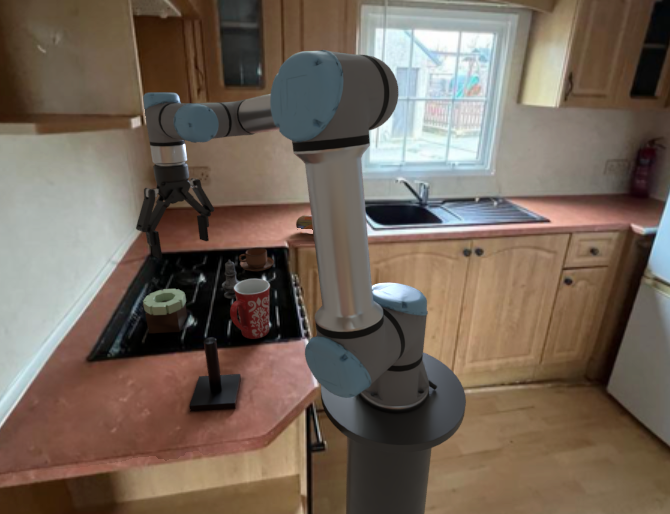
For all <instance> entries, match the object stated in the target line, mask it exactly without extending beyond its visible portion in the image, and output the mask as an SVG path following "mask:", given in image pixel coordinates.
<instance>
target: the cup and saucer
mask: <svg viewBox="0 0 670 514" xmlns="http://www.w3.org/2000/svg"><path fill="white" fill-rule="evenodd" d="M242 257H245V258H243V259H242ZM238 259H239V261H240V263H239V265H240V268H242V269H243V270H245V271H247V272H262V271H266V270H268V269H270V268H272V267H273V266H274V264H275V260H274V259H273V258H272V257H270V256H268V250H267V249H266V248H264V247H251V248H249V249H247V250H246V251H245V253H242V254H240V255H239V256H238Z"/></svg>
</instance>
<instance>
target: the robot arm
mask: <svg viewBox="0 0 670 514" xmlns="http://www.w3.org/2000/svg"><path fill="white" fill-rule="evenodd" d="M142 99H143V108H144V109H145V113H144V117H145V116H146V118H145V122H146V123H145V124H146V129H147V130H146V131H147V135H148V141H149V147H150V155H151V159H152V163H153V164H154V165H153V166H152V169H153V174H154V180H155V182H156V187H155V188H150V187H145V188H144V189H143V201H142V205H141V207H140V211H139V215H138V219H137V222H136V225H135V230H137V231H139V232H141V233H145V237H146V242H147V245H149V246H150V247H151V254H152V257H155V258H157V259H162V258H163V252H162V246H161V241H160V234H159V231H158V230H156V229H157V227H158V226H159V223H160V222H161V220H162V218H163V216H164V214H165V212H166V210H167V208H169V207H170V205H171V204H172V205H174V204H176V203H178V202H180V203H181V202H184V201H185V202H186V203H187V204H188V205H189V206H191V208H193V209H194V210H195V212H197V213H198V214H199V215H196V219H197V220H196V221H197V228H198V236H199V237H198V238H199V240H201V241H204V242H209V239H210V237H209V231H208V228H209V227H210V220H209V217H211V216H212V213H213V212H215V208H214V205H213V204H212V202H211V201H210V199H209V198H208V195H207V194H206V192H205V190H204V188H203V186H202V183H201V180H200V178H199V179H198V178H193V177H191V178H190V172H189V165H188V163H187V161H188V155H187V149H186V142H190V143H195V144H197V143H208V142H210V141H211V140H213V139H214V140H215V139H222V138H229V137H230V138H231V137H241V136H253V135H256V134H261V133H269V132H277V131H278V132H279V133H280V134H281V135H282V136H283V137H285V138H286V139H287V140H290V141H291V144H292V151H293V155H295V156H296V157H297V158H298V159H299V160H301V161H302V162H303V164H304V169H305V176H306V183H307V191H308V200H309V208H310V215H311V217H312V225H313V234H314V235H313V240H314V241H313V242H314V249H315V258H316V265H317V273H318V281H319V288H320V289H319V290H320V299H321V306H320V307H319V308H318V310H316V311H315V313H314V323H315V330H316V335H315V336H313V337H311V338H310V339H309V341H308V343H307V344H306V345H305V348H304V357H305V358H304V359H305V362H306V364H307V367H308V369H309V371H310V372H311V374H312V376H313V377H314V378H315V380H316V381H317V382H318V383H319V384H320V386H321V385H322V386H323V387H324V388H325V389H327V390H328V391H329V392H331V393H333V394H335V395H337V396H340V397H344V398H351V397H354V396H356V395H359V397H360V398H361V399H362V400H363V401H364V402H365V403H366V404H367V405H369V406H370V407H372V408H374V409H376V410H379V411H382V412H386V413H396V414H398V413H407V412H411V411H414V410H416V409H418V408H419V407H421V406H422V405H423V404H424V403H425V402H426V400H427V398H428V394H429V386H430V387H431V388H433V389H434V390H435V389H436V388H437V385H435V384H434V383H432V382H431V381H430V380H428V377H427V373H426V370H425V366H424V363H423V352H424V349H425V338H426V328H427V318H428V314H429V313H428V300H427V299H428V298H427V297H426V296H425V294H424V293H423V292H421V290H419V289H418V288H415V287H414V286H411V285H407V284H404V283H398V282H379V283H375V284H373V283H372V281H373V280H372V271H371V259H370V258H371V257H370V249H369V247H370V245H369V236H368V234H369V233H368V226H367V225H368V224H367V222H368V221H367V213H366V199H365V187H364V178H363V177H364V175H363V164H362V157H363V155H364V154H365V152H366V151H367V150H368V149H369V147H370V146H371V139H370V131H373V130H375V129H378V128H379V127H381V126H383V125H384V124H385V123H387V122H388V121H389V119H390V118H391V117H392V116H393V114H394V113H395V110H396V107H397V104H398V102H399V84H398V80H397V78H396V75H395V73H394V72H393V70H392V69H391V67H390V66H389V65H388V64H387V63H386V62H385V61H383V60H381V59H380V58H377V57H375V56H373V55H368V54H354V53H345V52H338V51H329V50H326V49H321V50H307V51H304V50H303V51H300V52H299V51H298V52H296V53H293V54H292V55H291V56H289V57H288V58H287V59H285V60H284V61H283V63H282V64H281V66H280V67H279V69H278V72H277V74H276V75H275V76H274V79H273V82H272V85H271V88H270V93H269V94H263V95H258V96H255V97H251V98H246V99H242V100H236V101H227V102H224V101H223V102H193V103H192V102H191V103H183V102H181V99H180V95H179V94H178V93H176V92H166V91H165V92H162V91H161V92H145V93H144V94H143V96H142ZM144 109H143V110H144ZM189 179H190V180H189ZM190 189H192V191H193V193H194V195H195V197H197V199H198V200H196V199H195V197H194V195H193V194H191V193H190ZM156 198H157V199H156ZM155 203H156V204H155Z"/></svg>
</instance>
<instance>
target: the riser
mask: <svg viewBox="0 0 670 514" xmlns="http://www.w3.org/2000/svg"><path fill="white" fill-rule="evenodd" d="M169 301H170V300H169ZM162 302H167V301H162ZM144 315H145V320H146V326H147V330H148V334H165V333H180V332H181V330H182V329H183V326H184V324H185V321H186V320H187V318H188V311H187V306H186V303H185V305H184V307H183V308H181V309H180V310H177V311H175V312H173V313H171V314H169V313H167V314H166V315H153V314H151V315H150V314H149V313H147V312H146V311H145V314H144Z"/></svg>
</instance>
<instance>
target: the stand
mask: <svg viewBox="0 0 670 514" xmlns="http://www.w3.org/2000/svg"><path fill="white" fill-rule="evenodd" d="M203 347H204V354H205V361H206V369H207V375H198V378H197V381H196V383H195V387H194V390H193V393H192V396H191V399H190V402H189V405H188V409H189V412H190V413H191V412H193V413H194V412H206V411H222V410H235V409H237V403H238V397H239V393H240V392H239V391H240V387H241V381H242V376H241V373H230V374H221V369H220V368H221V367H220V362H219V361H220V359H219V350H218V343H217V338H216V337H213V336H211V337H210V336H209V337H207V338H205V339H204V340H203Z"/></svg>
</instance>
